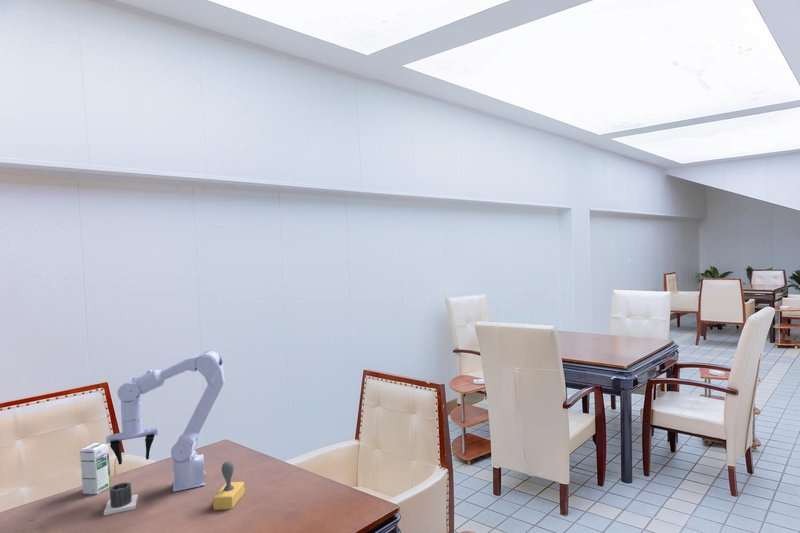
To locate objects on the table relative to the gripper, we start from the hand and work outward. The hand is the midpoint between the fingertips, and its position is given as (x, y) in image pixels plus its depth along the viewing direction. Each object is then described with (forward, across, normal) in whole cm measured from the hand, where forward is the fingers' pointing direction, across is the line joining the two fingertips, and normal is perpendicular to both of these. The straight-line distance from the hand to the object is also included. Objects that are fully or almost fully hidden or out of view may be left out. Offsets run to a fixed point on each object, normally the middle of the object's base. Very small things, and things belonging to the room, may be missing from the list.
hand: (134, 460), depth 157 cm
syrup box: (+10, +12, -8) cm, 18 cm away
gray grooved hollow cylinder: (+9, +3, +9) cm, 13 cm away
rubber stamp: (+10, -27, +22) cm, 36 cm away
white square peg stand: (+10, +3, +9) cm, 14 cm away
